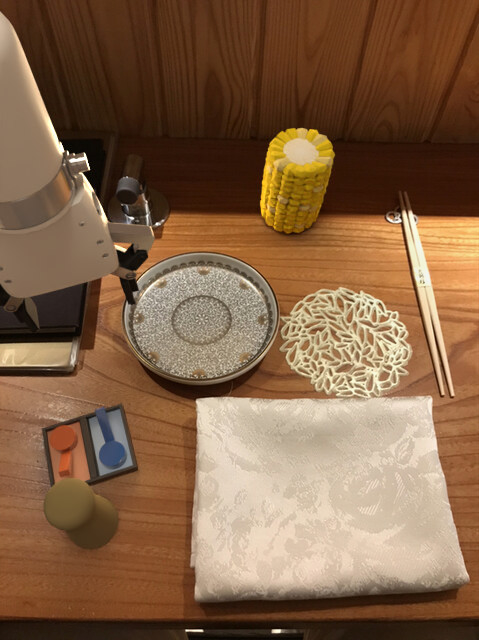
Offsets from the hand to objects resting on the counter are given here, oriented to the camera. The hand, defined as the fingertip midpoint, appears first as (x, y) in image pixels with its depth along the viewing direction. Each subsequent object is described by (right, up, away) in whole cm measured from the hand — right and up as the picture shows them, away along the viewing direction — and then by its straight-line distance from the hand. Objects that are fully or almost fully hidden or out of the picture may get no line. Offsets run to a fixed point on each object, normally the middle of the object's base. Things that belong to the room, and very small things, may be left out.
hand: (82, 306), depth 56 cm
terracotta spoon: (-6, -18, +14) cm, 23 cm away
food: (+24, +15, +33) cm, 44 cm away
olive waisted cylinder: (-2, -25, +10) cm, 27 cm away
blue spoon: (0, -17, +14) cm, 22 cm away
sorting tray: (-3, -18, +14) cm, 23 cm away
